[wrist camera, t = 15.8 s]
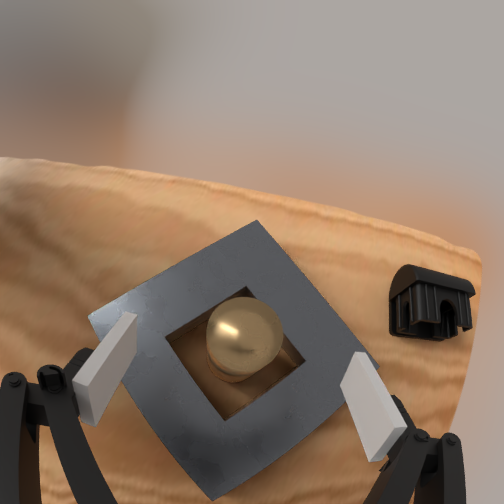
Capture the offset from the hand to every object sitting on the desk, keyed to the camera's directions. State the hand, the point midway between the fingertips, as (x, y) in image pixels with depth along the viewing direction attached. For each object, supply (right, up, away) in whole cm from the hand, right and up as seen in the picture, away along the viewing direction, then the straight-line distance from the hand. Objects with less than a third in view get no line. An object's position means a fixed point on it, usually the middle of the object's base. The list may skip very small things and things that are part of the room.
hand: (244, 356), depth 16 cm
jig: (-1, -4, +11) cm, 12 cm away
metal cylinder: (-1, -4, +11) cm, 12 cm away
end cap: (+21, -2, +16) cm, 27 cm away
